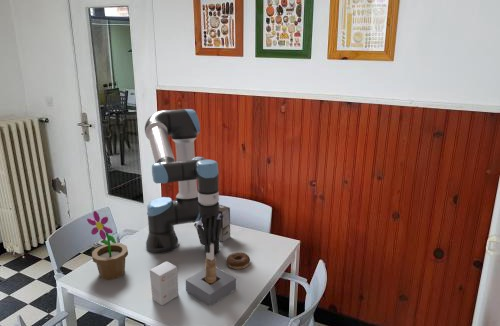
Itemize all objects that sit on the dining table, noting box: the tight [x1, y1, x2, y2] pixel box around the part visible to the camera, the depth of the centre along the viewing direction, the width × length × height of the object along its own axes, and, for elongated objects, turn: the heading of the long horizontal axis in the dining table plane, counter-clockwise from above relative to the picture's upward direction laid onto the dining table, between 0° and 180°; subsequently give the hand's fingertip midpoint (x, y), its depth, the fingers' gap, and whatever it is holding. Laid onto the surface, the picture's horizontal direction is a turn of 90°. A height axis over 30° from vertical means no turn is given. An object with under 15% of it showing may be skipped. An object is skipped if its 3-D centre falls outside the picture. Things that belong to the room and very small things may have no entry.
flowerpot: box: [86, 210, 129, 280], centre depth 159 cm, size 14×14×30 cm
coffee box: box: [218, 204, 231, 242], centre depth 192 cm, size 9×6×16 cm
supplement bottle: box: [204, 239, 220, 256], centre depth 178 cm, size 7×7×12 cm
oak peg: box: [205, 256, 217, 285], centre depth 150 cm, size 4×4×14 cm
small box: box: [149, 261, 179, 306], centre depth 146 cm, size 8×6×13 cm
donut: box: [225, 251, 251, 270], centre depth 170 cm, size 11×11×4 cm
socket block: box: [185, 267, 237, 307], centre depth 152 cm, size 14×14×5 cm
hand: (210, 258), depth 148 cm, fingers closed
